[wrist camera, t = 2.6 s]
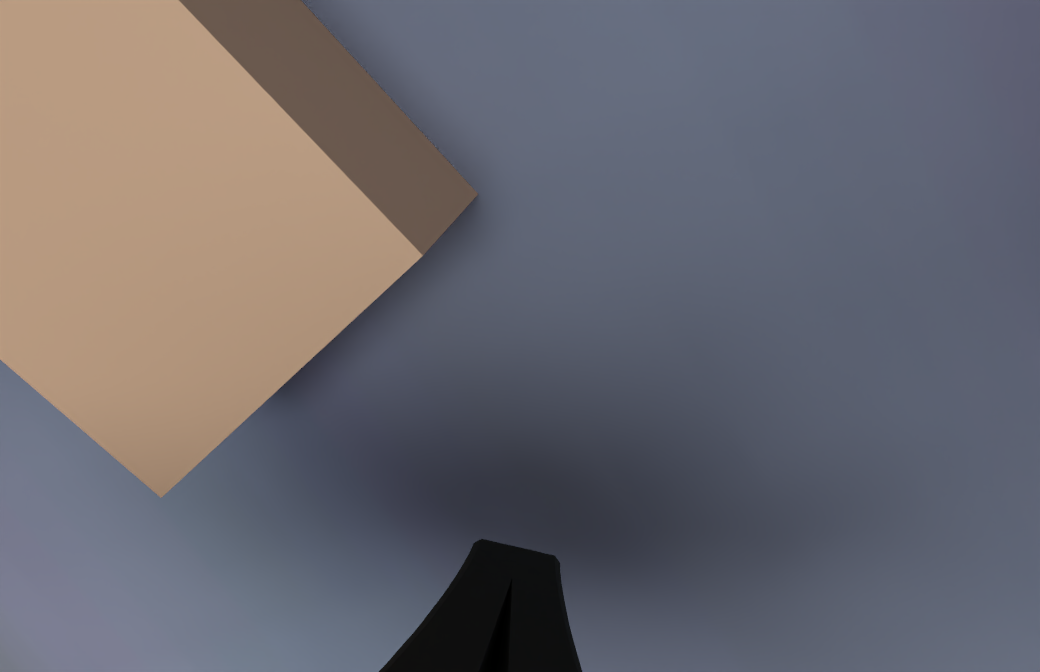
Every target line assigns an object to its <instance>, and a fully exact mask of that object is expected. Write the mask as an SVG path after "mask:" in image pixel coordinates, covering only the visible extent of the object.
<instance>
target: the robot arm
mask: <svg viewBox="0 0 1040 672" xmlns="http://www.w3.org/2000/svg"><path fill="white" fill-rule="evenodd" d="M379 672H582V670H581V666H580V663H579V659H578V656H577V652H576V648H575V645H574V641H573V638H572V634H571V630H570V626H569V621H568V616H567V612H566V607H565V602H564V596H563V591H562V584H561V575H560V563H559V561H558V560H557V558H556V557H555V556H554V555H549V554H545V553H541V552H536V551H532V550H528V549H523V548H519V547H515V546H510V545H506V544H501V543H497V542H493V541H488V540H484V539H481V540H479V541H477V542H475V543H474V544H473V546H472V548H471V551H470V553H469V555H468V557H467V558H466V560H465V562H464V564H463V565H462V567H461V569H460V570H459V572H458V574H457V575H456V577H455V578H454V580H453V581H452V583H451V584H450V586H449V587H448V589H447V590H446V591H445V593H444V594H443V596H442V597H441V598H440V600H439V601H438V602H437V604H436V605H435V606H434V607H433V609H432V610H431V611H430V613H429V614H428V615H427V617H426V618H425V619H424V621H423V622H422V623H421V624H420V626H419V627H418V628H417V629H416V630H415V632H414V633H413V634H412V635H411V636H410V637H409V639H408V640H407V641H406V642H405V643H404V644H403V645H402V647H401V648H400V649H399V650H398V651H397V652H396V653H395V654H394V656H393V657H392V658H391V659H390V660H389V661H388V662H387V664H386V665H385V666H384V667H383V668H382V669H381V670H380V671H379Z"/></svg>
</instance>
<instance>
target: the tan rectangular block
mask: <svg viewBox="0 0 1040 672" xmlns="http://www.w3.org/2000/svg"><path fill="white" fill-rule="evenodd" d="M477 195H478V193H477V192H476V191H475V190H474V189H473V188H472V187H471V186H470V185H469V184H468V182H467V181H466V180H465V179H464V178H463V177H462V176H461V175H460V174H459V173H458V172H457V170H456V169H455V168H454V167H453V166H452V165H451V164H450V163H449V162H448V161H447V160H446V158H445V157H444V156H443V155H442V154H441V153H440V152H439V151H438V150H437V149H436V147H435V146H434V145H433V144H432V143H431V142H430V141H429V140H428V139H427V138H426V137H425V135H424V134H423V133H422V132H421V131H420V130H419V129H418V128H417V127H416V126H415V125H414V123H413V122H412V121H411V120H410V119H409V118H408V117H407V116H406V115H405V114H404V113H403V111H402V110H401V109H400V108H399V107H398V106H397V105H396V104H395V103H394V102H393V100H392V99H391V98H390V97H389V96H388V95H387V94H386V93H385V92H384V91H383V90H382V88H381V87H380V86H379V85H378V84H377V83H376V82H375V81H374V80H373V79H372V78H371V76H370V75H369V74H368V73H367V72H366V71H365V70H364V69H363V68H362V67H361V66H360V64H359V63H358V62H357V61H356V60H355V59H354V58H353V57H352V56H351V55H350V54H349V52H348V51H347V50H346V49H345V48H344V47H343V46H342V45H341V44H340V43H339V41H338V40H337V39H336V38H335V37H334V36H333V35H332V34H331V33H330V32H329V31H328V29H327V28H326V27H325V26H324V25H323V24H322V23H321V22H320V21H319V20H318V19H317V17H316V16H315V15H314V14H313V13H312V12H311V11H310V10H309V9H308V8H307V7H306V5H305V4H304V3H303V2H302V1H301V0H0V360H2V361H3V362H4V363H5V364H6V365H7V366H9V367H10V368H11V369H12V370H13V371H14V372H16V373H17V374H18V375H19V376H20V377H21V378H22V379H24V380H25V381H26V382H27V383H28V384H29V385H31V386H32V387H33V388H34V389H35V390H36V391H38V392H39V393H40V394H41V395H42V396H43V397H45V398H46V399H47V400H48V401H49V402H50V403H52V404H53V405H54V406H55V407H56V408H57V409H58V410H60V411H61V412H62V413H63V414H64V415H65V416H67V417H68V418H69V419H70V420H71V421H72V422H74V423H75V424H76V425H77V426H78V427H79V428H81V429H82V430H83V431H84V432H85V433H86V434H88V435H89V436H90V437H91V438H92V439H93V440H94V441H96V442H97V443H98V444H99V445H100V446H101V447H103V448H104V449H105V450H106V451H107V452H108V453H110V454H111V455H112V456H113V457H114V458H115V459H117V460H118V461H119V462H120V463H121V464H122V465H124V466H125V467H126V468H127V469H128V470H129V471H131V472H132V473H133V474H134V475H135V476H136V477H137V478H139V479H140V480H141V481H142V482H143V483H144V484H146V485H147V486H148V487H149V488H150V489H151V490H153V491H154V492H155V493H156V494H157V495H158V496H160V497H161V498H162V497H163V496H164V495H165V494H166V493H167V492H168V491H169V490H170V489H171V488H172V487H173V486H175V485H176V484H177V483H178V482H179V481H180V480H181V479H182V478H183V477H184V476H185V475H186V474H187V473H189V472H190V471H191V470H192V469H193V468H194V467H195V466H196V465H197V464H198V463H199V462H200V461H202V460H203V459H204V458H205V457H206V456H207V455H208V454H209V453H210V452H211V451H212V450H213V449H215V448H216V447H217V446H218V445H219V444H220V443H221V442H222V441H223V440H224V439H225V438H226V437H227V436H229V435H230V434H231V433H232V432H233V431H234V430H235V429H236V428H237V427H238V426H239V425H240V424H242V423H243V422H244V421H245V420H246V419H247V418H248V417H249V416H250V415H251V414H252V413H253V412H255V411H256V410H257V409H258V408H259V407H260V406H261V405H262V404H263V403H264V402H265V401H266V400H268V399H269V398H270V397H271V396H272V395H273V394H274V393H275V392H276V391H277V390H278V389H279V388H280V387H282V386H283V385H284V384H285V383H286V382H287V381H288V380H289V379H290V378H291V377H292V376H293V375H295V374H296V373H297V372H298V371H299V370H300V369H301V368H302V367H303V366H304V365H305V364H306V363H308V362H309V361H310V360H311V359H312V358H313V357H314V356H315V355H316V354H317V353H318V352H319V351H320V350H322V349H323V348H324V347H325V346H326V345H327V344H328V343H329V342H330V341H331V340H332V339H333V338H335V337H336V336H337V335H338V334H339V333H340V332H341V331H342V330H343V329H344V328H345V327H346V326H348V325H349V324H350V323H351V322H352V321H353V320H354V319H355V318H356V317H357V316H358V315H359V314H360V313H362V312H363V311H364V310H365V309H366V308H367V307H368V306H369V305H370V304H371V303H372V302H373V301H375V300H376V299H377V298H378V297H379V296H380V295H381V294H382V293H383V292H384V291H385V290H386V289H388V288H389V287H390V286H391V285H392V284H393V283H394V282H395V281H396V280H397V279H398V278H399V277H401V276H402V275H403V274H404V273H405V272H406V271H407V270H408V269H409V268H410V267H411V266H412V265H413V264H415V263H416V262H417V261H418V260H419V259H420V258H421V257H422V256H423V255H424V254H425V253H426V252H427V251H428V250H429V248H430V247H431V246H432V245H433V244H434V243H435V242H436V241H437V240H438V238H439V237H440V236H441V235H442V234H443V233H444V232H445V231H446V230H447V228H448V227H449V226H450V225H451V224H452V223H453V222H454V221H455V220H456V218H457V217H458V216H459V215H460V214H461V213H462V212H463V211H464V209H465V208H466V207H467V206H468V205H469V204H470V203H471V202H472V201H473V199H474V198H475V197H476V196H477Z"/></svg>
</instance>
